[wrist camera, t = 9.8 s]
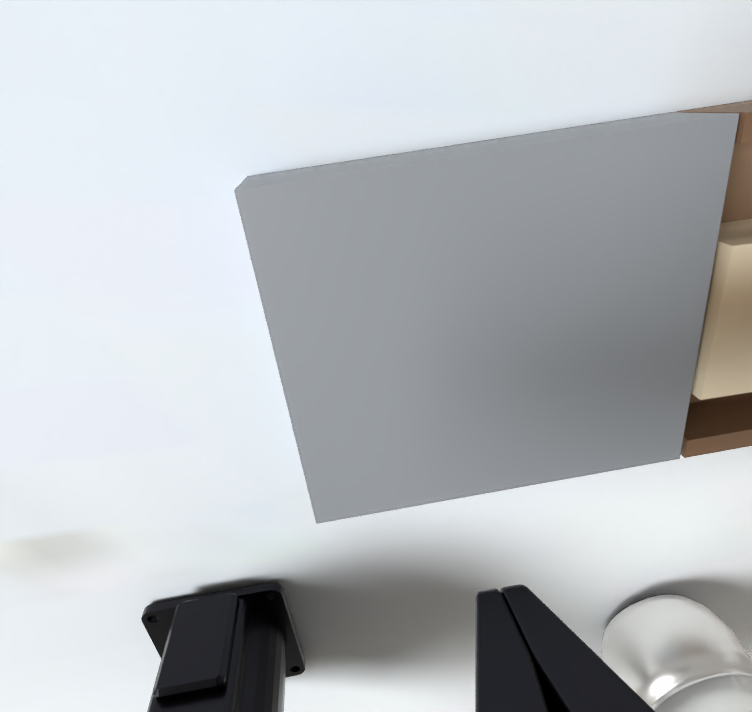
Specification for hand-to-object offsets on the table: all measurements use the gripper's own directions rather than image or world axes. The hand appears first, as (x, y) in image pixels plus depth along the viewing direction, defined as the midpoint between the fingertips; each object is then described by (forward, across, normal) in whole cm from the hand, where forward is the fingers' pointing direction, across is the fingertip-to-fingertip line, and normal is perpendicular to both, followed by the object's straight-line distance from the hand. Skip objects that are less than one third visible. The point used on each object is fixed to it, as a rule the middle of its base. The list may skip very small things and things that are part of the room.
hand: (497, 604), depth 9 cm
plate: (+12, -3, 0) cm, 12 cm away
